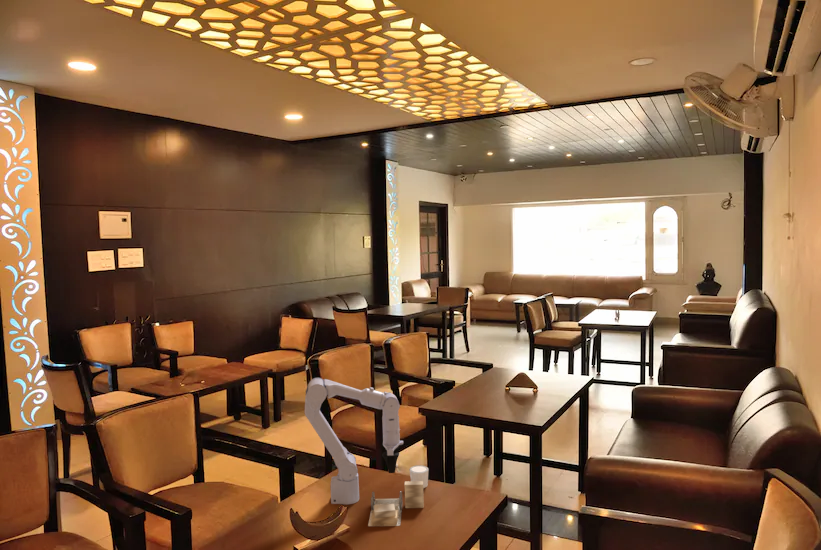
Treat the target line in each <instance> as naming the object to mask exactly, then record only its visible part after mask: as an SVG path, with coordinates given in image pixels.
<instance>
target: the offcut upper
mask: <svg viewBox="0 0 821 550" xmlns="http://www.w3.org/2000/svg"><path fill="white" fill-rule="evenodd" d="M374 515H375V518H385V517H395V516H396V513H395V506H394V504H384V505H374Z"/></svg>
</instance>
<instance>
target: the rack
mask: <svg viewBox="0 0 821 550" xmlns="http://www.w3.org/2000/svg"><path fill="white" fill-rule="evenodd" d="M375 497H376V496H375V491H372V492H371V497H370V509H371V510H370V514H369V520H368V524H367V527H400V526H401V522H402V513H403V511H402V510H403V491H402V490H400V491H399V497H398V498H375ZM384 504H394V506H395V510H398V521H397V524H371V517H372V512H373V510H374V505H384Z"/></svg>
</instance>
